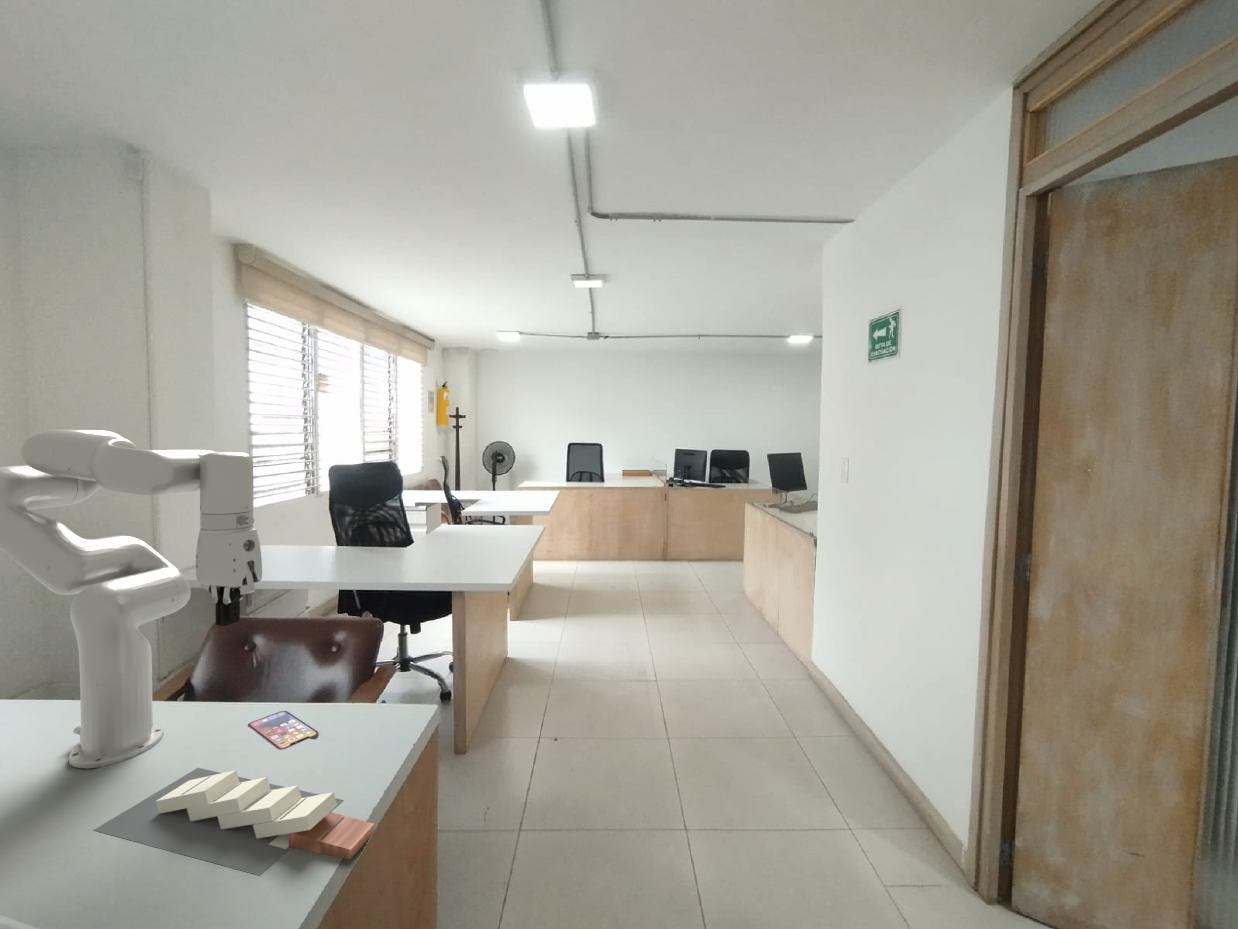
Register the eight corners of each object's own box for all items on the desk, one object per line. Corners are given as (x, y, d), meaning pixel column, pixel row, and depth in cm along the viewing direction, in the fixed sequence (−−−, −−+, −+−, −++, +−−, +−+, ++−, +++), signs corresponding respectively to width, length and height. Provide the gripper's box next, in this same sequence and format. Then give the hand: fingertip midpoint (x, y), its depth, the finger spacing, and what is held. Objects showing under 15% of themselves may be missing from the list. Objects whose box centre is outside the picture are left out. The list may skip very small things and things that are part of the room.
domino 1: (155, 800, 79) (204, 790, 77) (189, 780, 84) (235, 770, 82) (159, 814, 79) (208, 804, 77) (192, 792, 84) (239, 782, 82)
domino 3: (217, 816, 77) (269, 807, 74) (248, 793, 82) (298, 785, 79) (220, 829, 77) (273, 821, 74) (252, 806, 82) (301, 798, 79)
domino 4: (252, 825, 75) (306, 815, 73) (282, 801, 80) (333, 792, 78) (256, 839, 75) (310, 830, 73) (286, 814, 80) (337, 805, 78)
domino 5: (289, 832, 74) (350, 849, 72) (316, 808, 79) (374, 823, 77) (288, 846, 74) (349, 863, 72) (315, 821, 79) (373, 837, 77)
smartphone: (285, 713, 110) (321, 737, 102) (245, 728, 104) (280, 755, 96) (285, 709, 110) (321, 733, 102) (245, 724, 104) (280, 750, 96)
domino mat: (93, 833, 76) (93, 830, 76) (197, 770, 90) (197, 767, 90) (260, 879, 69) (259, 875, 69) (343, 803, 84) (343, 800, 84)
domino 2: (186, 808, 78) (236, 798, 76) (219, 787, 83) (266, 776, 81) (190, 821, 78) (240, 811, 76) (222, 799, 83) (270, 789, 81)
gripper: (280, 521, 94) (280, 621, 95) (214, 516, 97) (215, 612, 98) (241, 528, 86) (241, 636, 87) (172, 522, 90) (173, 625, 91)
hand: (227, 623), depth 93 cm, fingers closed
